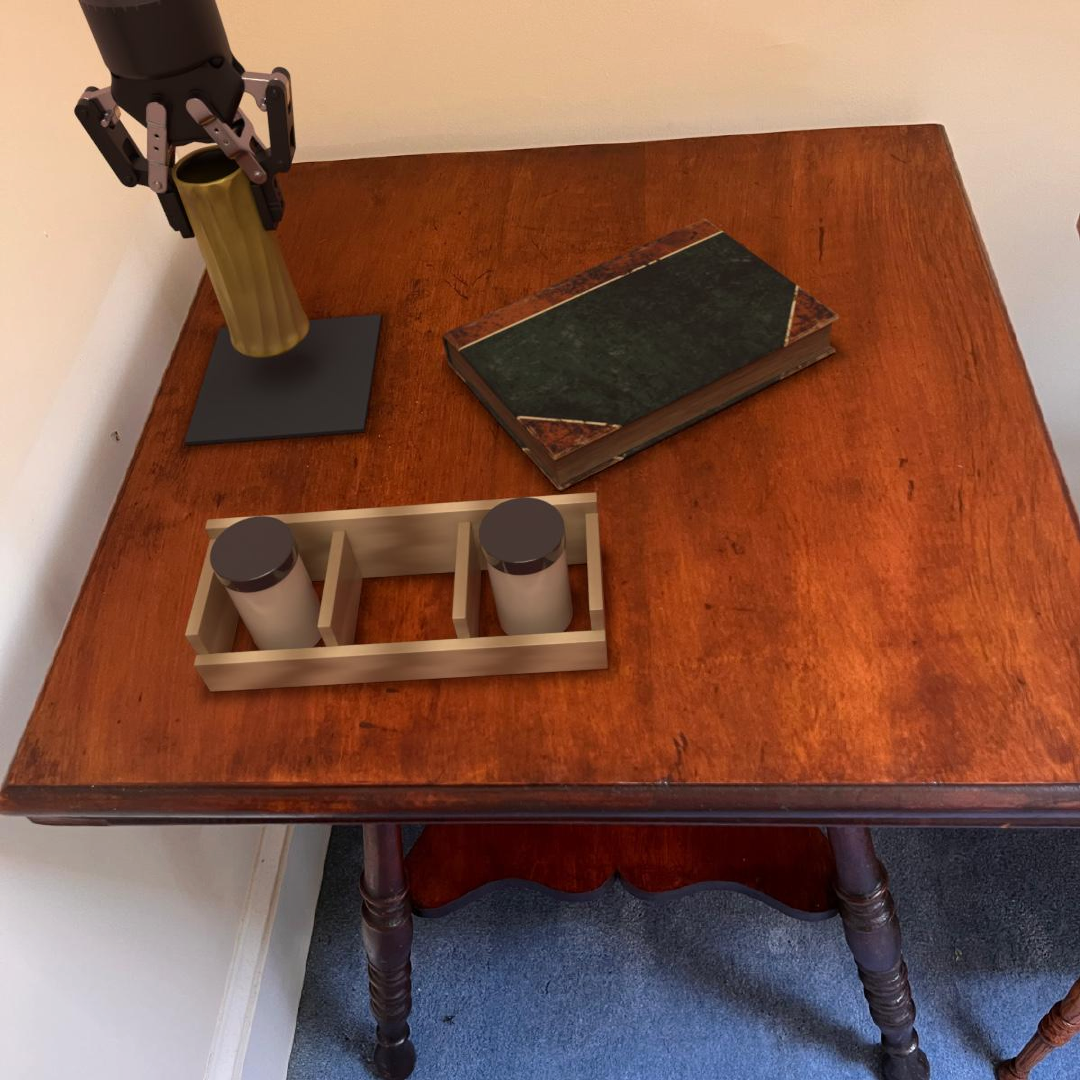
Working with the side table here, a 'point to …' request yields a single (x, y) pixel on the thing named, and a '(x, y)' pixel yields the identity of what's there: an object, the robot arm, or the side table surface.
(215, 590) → the rack
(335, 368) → the mat
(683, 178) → the side table surface
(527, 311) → the book
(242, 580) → the spice jar left
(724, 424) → the side table surface
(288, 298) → the vase
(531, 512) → the spice jar right
